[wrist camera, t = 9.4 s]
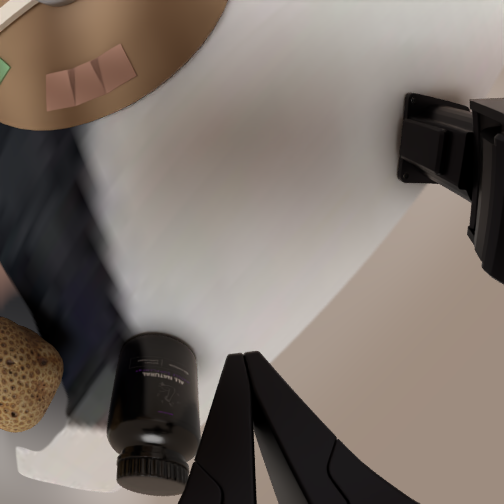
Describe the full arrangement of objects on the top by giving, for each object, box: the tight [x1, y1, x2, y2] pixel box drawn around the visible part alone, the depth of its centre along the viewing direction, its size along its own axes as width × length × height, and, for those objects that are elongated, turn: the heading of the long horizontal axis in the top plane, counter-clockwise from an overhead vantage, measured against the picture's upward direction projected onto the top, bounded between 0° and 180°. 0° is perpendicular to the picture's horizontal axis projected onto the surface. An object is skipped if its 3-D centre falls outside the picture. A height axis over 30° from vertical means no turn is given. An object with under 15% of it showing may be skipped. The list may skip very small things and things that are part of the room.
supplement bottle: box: [107, 334, 201, 496], centre depth 20 cm, size 7×7×12 cm
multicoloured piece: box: [0, 0, 75, 32], centre depth 8 cm, size 10×4×5 cm, turn 110°
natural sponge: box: [0, 317, 63, 432], centre depth 18 cm, size 9×9×10 cm
